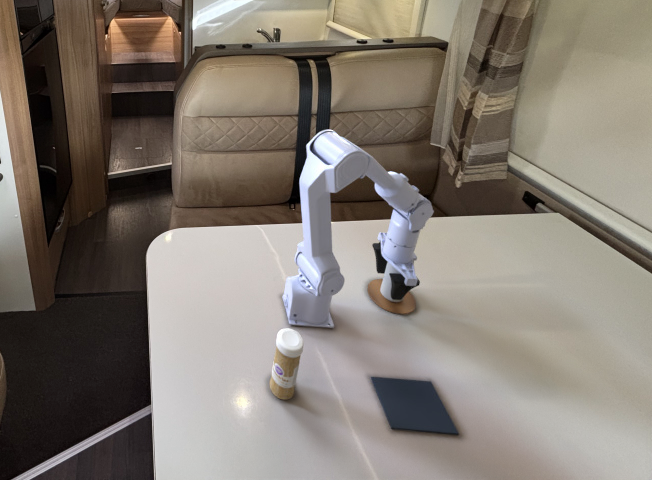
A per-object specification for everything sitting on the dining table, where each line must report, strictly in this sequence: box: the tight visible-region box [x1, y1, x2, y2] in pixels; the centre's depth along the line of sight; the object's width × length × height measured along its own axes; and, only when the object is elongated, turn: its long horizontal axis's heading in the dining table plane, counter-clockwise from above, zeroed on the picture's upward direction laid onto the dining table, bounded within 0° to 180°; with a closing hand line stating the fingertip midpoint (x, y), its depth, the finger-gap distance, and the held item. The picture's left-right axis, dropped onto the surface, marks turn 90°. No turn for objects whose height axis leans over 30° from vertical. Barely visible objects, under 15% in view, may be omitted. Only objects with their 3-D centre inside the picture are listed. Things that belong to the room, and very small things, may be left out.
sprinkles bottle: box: [269, 327, 305, 401], centre depth 78 cm, size 5×5×14 cm
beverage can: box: [380, 259, 415, 302], centre depth 97 cm, size 5×5×12 cm
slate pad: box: [370, 376, 460, 436], centre depth 77 cm, size 11×9×1 cm
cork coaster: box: [366, 278, 417, 316], centre depth 100 cm, size 10×10×1 cm
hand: (388, 285), depth 99 cm, fingers open, 7 cm apart
